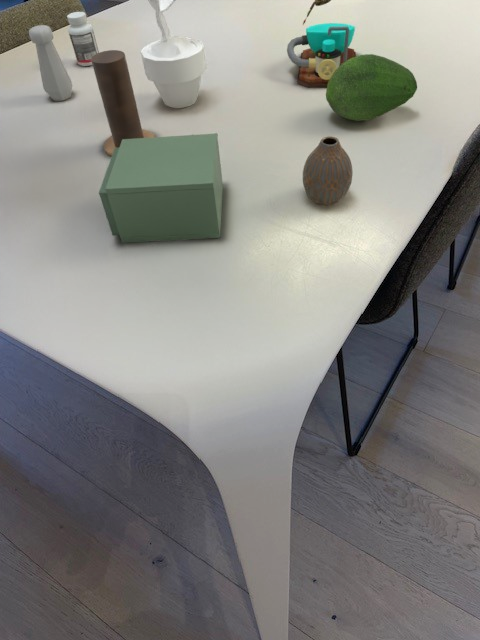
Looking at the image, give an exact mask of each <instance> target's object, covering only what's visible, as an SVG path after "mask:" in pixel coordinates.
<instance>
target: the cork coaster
mask: <svg viewBox="0 0 480 640" xmlns="http://www.w3.org/2000/svg"><path fill="white" fill-rule="evenodd" d="M142 132H143V136H144V138H152V137H156V136H155V134H153V132H151V131H149V130H145V129H142ZM114 148H117V147H115V145H114V141H113V137H112V135H111V136H109V137H108V138H107V139H106V140H105V141H104V143H103V149H104V152H105V153H106V154H107V155H108V156H109V157H112V154H113V151H114Z"/></svg>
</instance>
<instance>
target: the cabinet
mask: <svg viewBox="0 0 480 640" xmlns="http://www.w3.org/2000/svg"><path fill="white" fill-rule="evenodd" d="M221 165H222V164H221V155H220V147H219V138H218V133H204V134H202V133H201V134H187V135H170V136H155V137H152V138H135V139H122V142H121V144H120V147H119V150H118V153H117V156H116V159H115V162H114V165H113V168H112V171H111V174H110V177H109V180H108V183H107V186H106V189H105V190H106V193H107V196H108V199H109V203H110V206H111V209H112V212H113V215H114V219H115V222H116V225H117V228H118V231H119V235H118V236H119V238H120V240H121V243H123V244H125V243H144V242H162V241H163V242H164V241H185V240H186V241H187V240H203V239H204V240H207V239H220V238H221V227H222V226H221V225H222V212H223V209H222V208H223V193H224V190H223V189H224V183H223V173H222V166H221Z"/></svg>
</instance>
